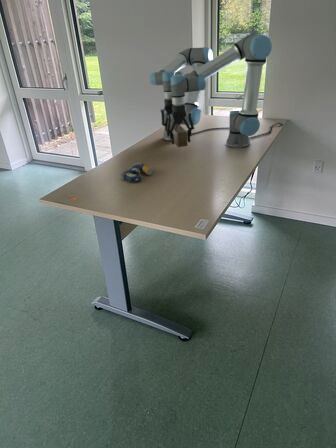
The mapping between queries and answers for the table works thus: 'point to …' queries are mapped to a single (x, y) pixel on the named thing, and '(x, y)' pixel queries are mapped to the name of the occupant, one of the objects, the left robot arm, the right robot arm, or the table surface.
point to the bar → (179, 135)
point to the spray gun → (136, 172)
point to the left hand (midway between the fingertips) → (172, 134)
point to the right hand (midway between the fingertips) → (180, 142)
